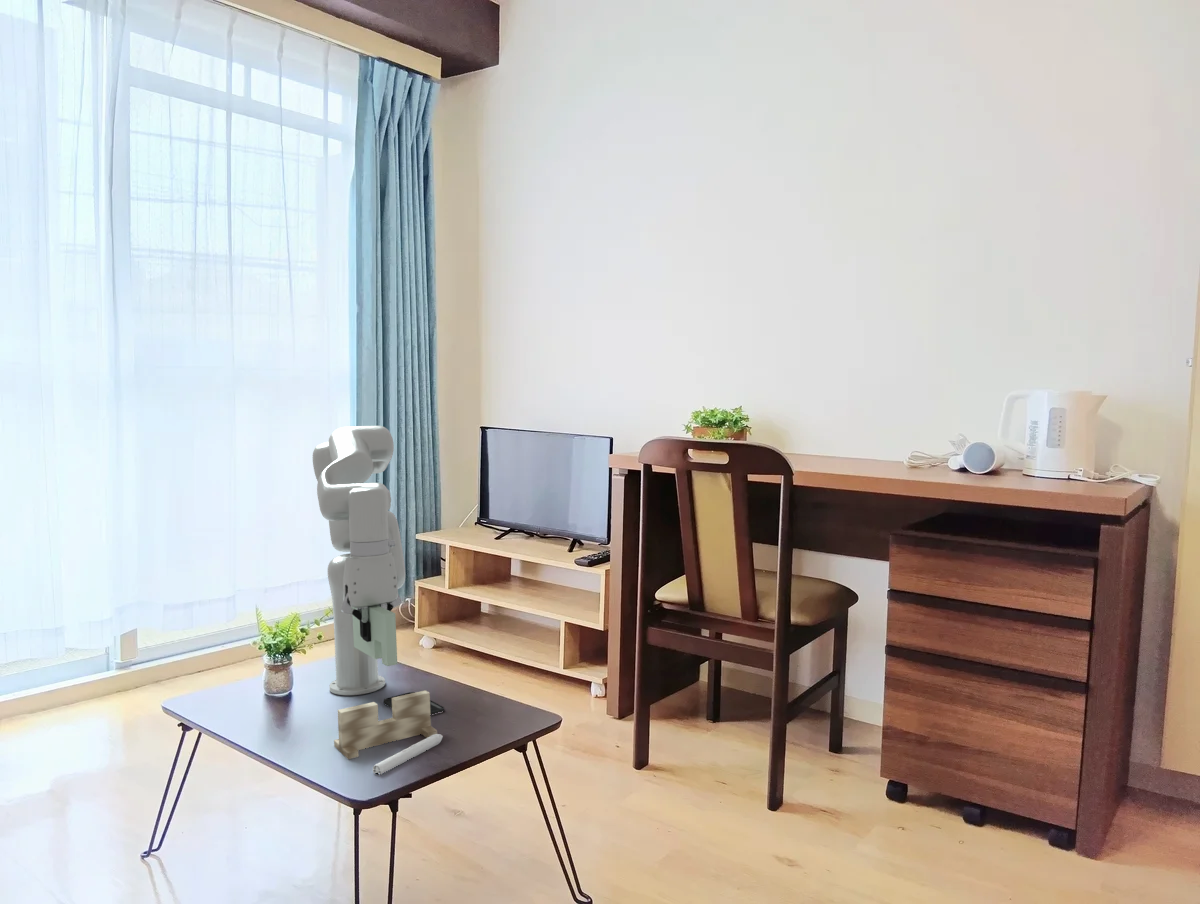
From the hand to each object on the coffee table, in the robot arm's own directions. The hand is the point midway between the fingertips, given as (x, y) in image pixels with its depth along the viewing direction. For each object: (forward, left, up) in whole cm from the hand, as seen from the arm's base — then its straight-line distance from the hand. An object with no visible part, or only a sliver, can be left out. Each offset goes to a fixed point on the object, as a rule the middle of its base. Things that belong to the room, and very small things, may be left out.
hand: (373, 638), depth 175 cm
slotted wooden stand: (+6, -1, -19) cm, 20 cm away
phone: (-9, +11, -20) cm, 24 cm away
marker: (+17, 0, -20) cm, 26 cm away
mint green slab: (+1, 0, -3) cm, 3 cm away
